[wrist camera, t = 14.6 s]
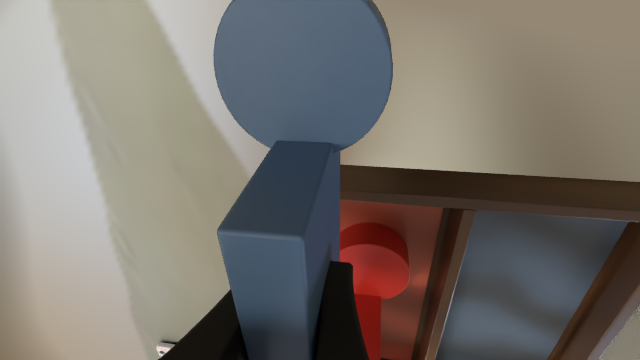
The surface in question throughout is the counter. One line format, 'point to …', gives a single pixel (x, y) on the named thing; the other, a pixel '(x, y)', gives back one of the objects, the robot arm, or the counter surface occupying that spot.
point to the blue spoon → (294, 153)
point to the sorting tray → (502, 261)
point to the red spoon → (374, 274)
